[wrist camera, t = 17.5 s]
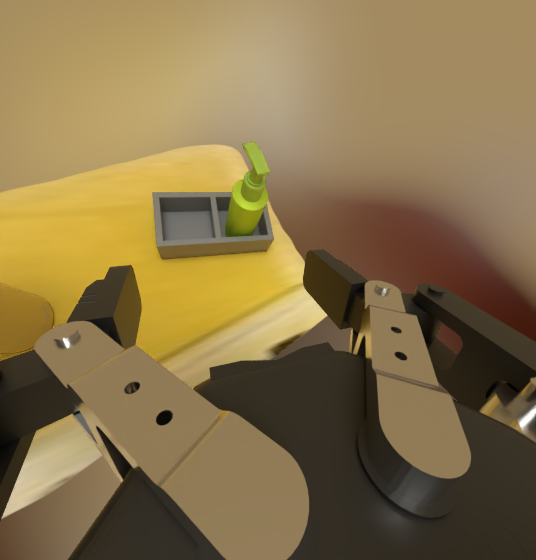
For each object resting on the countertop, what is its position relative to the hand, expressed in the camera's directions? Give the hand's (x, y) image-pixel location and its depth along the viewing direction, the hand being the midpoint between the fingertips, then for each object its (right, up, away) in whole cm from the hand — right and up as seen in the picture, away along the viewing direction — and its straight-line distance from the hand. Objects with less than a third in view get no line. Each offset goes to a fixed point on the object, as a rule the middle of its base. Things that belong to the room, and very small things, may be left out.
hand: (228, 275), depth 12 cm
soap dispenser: (-5, +10, +40) cm, 42 cm away
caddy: (-10, +10, +40) cm, 42 cm away
